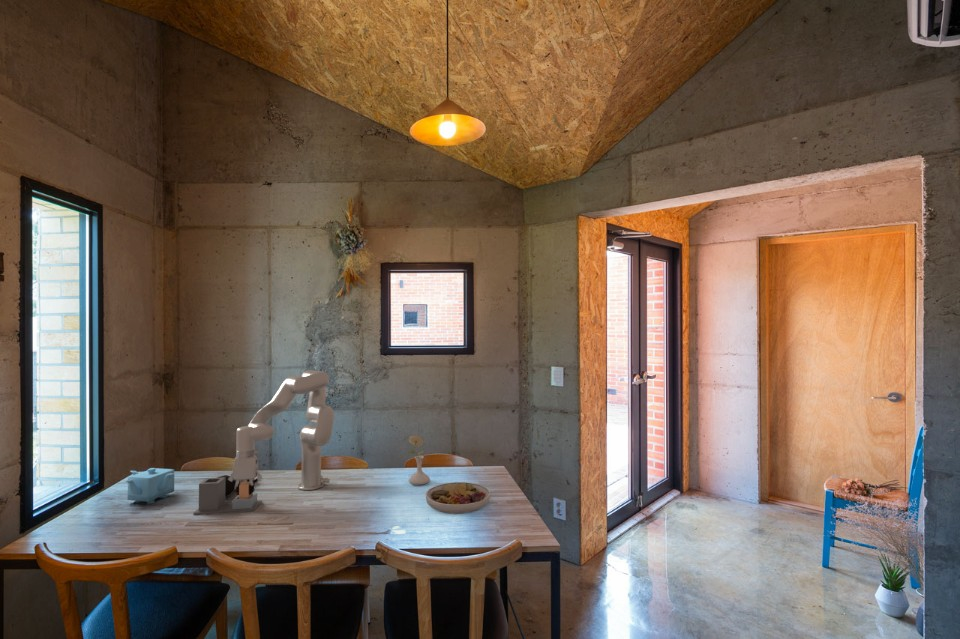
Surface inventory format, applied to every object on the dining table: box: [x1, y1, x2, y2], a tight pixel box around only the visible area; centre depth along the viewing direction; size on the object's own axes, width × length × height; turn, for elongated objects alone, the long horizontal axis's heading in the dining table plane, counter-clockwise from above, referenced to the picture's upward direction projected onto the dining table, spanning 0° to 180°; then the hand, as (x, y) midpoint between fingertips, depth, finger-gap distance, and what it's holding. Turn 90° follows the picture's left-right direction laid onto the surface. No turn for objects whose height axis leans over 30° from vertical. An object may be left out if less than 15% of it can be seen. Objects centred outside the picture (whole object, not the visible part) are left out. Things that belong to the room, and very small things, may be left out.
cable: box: [216, 474, 257, 498], centre depth 231 cm, size 10×34×10 cm, turn 170°
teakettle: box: [124, 467, 175, 505], centre depth 220 cm, size 19×19×15 cm
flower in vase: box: [408, 434, 431, 486], centre depth 242 cm, size 13×11×25 cm
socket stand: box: [192, 477, 263, 516], centre depth 208 cm, size 25×11×13 cm, turn 99°
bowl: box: [425, 481, 491, 515], centre depth 213 cm, size 30×30×8 cm
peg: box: [239, 482, 251, 499], centre depth 209 cm, size 4×4×10 cm
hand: (245, 493), depth 209 cm, fingers open, 4 cm apart
